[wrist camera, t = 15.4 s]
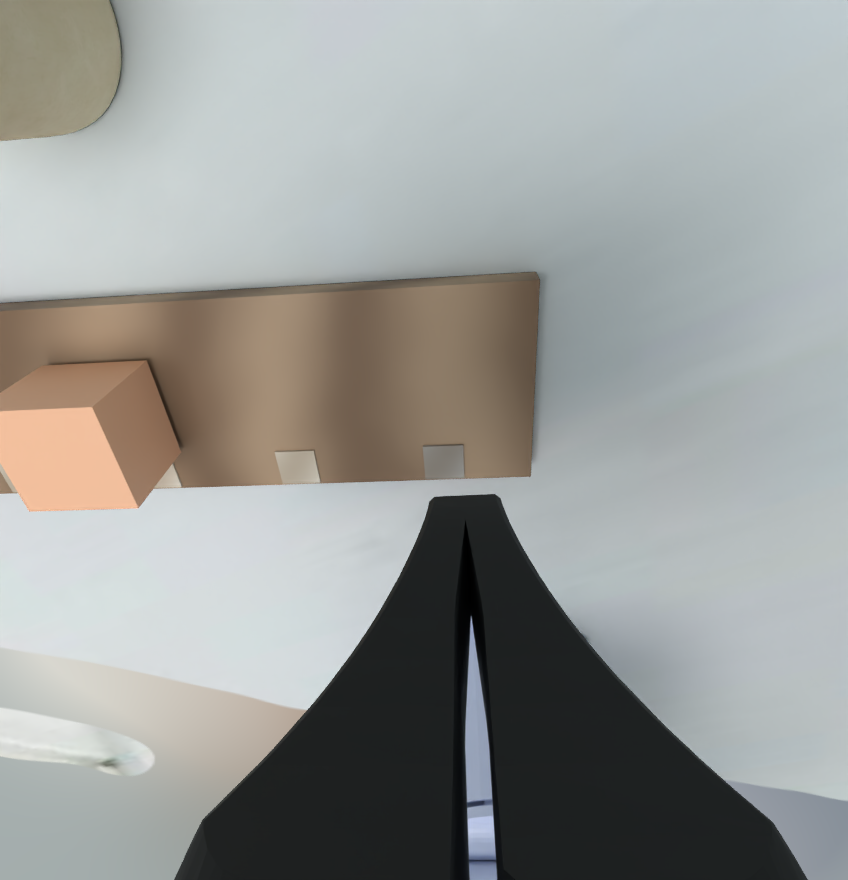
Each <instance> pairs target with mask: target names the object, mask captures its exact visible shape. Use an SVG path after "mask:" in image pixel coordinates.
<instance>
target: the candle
mask: <svg viewBox="0 0 848 880" xmlns="http://www.w3.org/2000/svg"><path fill="white" fill-rule="evenodd" d="M120 71H121V48H120V39H119V33H118V27H117V23H116V20H115V16H114V13H113V9H112V7H111V4H110V2H109V0H0V141H6V140H18V139H29V138H41V137H51V136H58V135H65V134H69V133H73V132H76V131H78V130H81V129H83V128H85V127H87V126H89V125H90V124H92V123H93V122H95V121H96V120H97V119H98V118H99V117H100V116H102V115H103V114H104V112H105V111H106V109H107V108H108V107H109V105H110V103H111V101H112V99H113V97H114V95H115V92H116V89H117V86H118V82H119V77H120Z"/></svg>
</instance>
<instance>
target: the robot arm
mask: <svg viewBox="0 0 848 880" xmlns="http://www.w3.org/2000/svg"><path fill="white" fill-rule="evenodd" d="M174 880H808V879H807V878H806V876H805V874H804V873H803V871H802V869H801V867H800V866H799V864H798V862H797V860H796V859H795V857H794V855H793V854H792V852H791V850H790V849H789V847H788V846H787V844H786V842H785V841H784V839H783V838H782V836H781V834H780V833H779V831H778V830H777V828H776V827H775V825H774V823H773V822H772V821H771V820H769V819H768V818H767V817H766V816H765V815H764V814H762V813H761V812H760V811H759V810H758V809H757V808H755V807H754V806H753V805H752V804H751V803H749V802H748V801H747V800H746V799H745V798H744V797H742V796H741V795H740V794H739V793H738V792H737V791H735V790H734V789H733V788H732V787H731V786H730V785H728V784H727V783H726V782H725V781H724V780H723V779H722V778H721V777H720V776H718V775H717V774H716V773H715V772H714V771H713V770H712V769H711V768H709V767H708V766H707V765H706V764H705V763H704V762H703V761H702V760H701V759H699V758H698V757H697V756H696V755H695V754H694V753H693V752H692V751H691V750H690V749H689V748H688V747H687V746H686V745H685V744H684V743H683V742H681V741H680V740H679V739H678V738H677V737H676V736H675V735H674V734H673V733H672V732H671V731H670V730H669V729H668V728H667V727H666V726H665V725H664V724H663V723H662V722H661V721H660V720H659V719H658V718H657V717H656V716H655V715H654V714H653V713H652V712H651V711H650V710H649V709H648V708H647V707H646V706H645V705H644V704H643V703H642V702H641V701H640V700H639V699H638V698H637V697H636V695H635V694H634V693H633V692H632V691H631V690H630V689H629V688H628V687H627V686H626V685H625V684H624V683H623V682H622V681H621V680H620V679H619V678H618V677H617V676H616V675H615V673H614V672H613V671H612V670H611V669H610V668H609V666H608V665H607V664H606V663H605V662H604V661H603V660H602V658H601V657H600V656H599V655H598V654H597V653H596V652H595V650H594V649H593V648H592V647H591V645H590V644H589V643H588V641H587V640H586V639H585V638H584V637H583V636H582V634H581V633H580V632H579V631H578V629H577V628H576V627H575V625H574V624H573V623H572V622H571V620H570V619H569V618H568V616H567V615H566V614H565V612H564V611H563V609H562V608H561V607H560V605H559V604H558V602H557V601H556V600H555V598H554V597H553V595H552V594H551V592H550V591H549V590H548V588H547V587H546V585H545V583H544V582H543V580H542V579H541V577H540V576H539V574H538V573H537V571H536V569H535V568H534V566H533V564H532V563H531V561H530V559H529V558H528V556H527V554H526V553H525V551H524V549H523V547H522V546H521V544H520V542H519V540H518V538H517V536H516V534H515V532H514V530H513V528H512V526H511V524H510V522H509V520H508V518H507V515H506V513H505V510H504V508H503V505H502V502H501V499H500V498H499V497H498V496H497V495H495V494H488V495H465V496H443V497H434V498H433V499H432V500H431V501H430V502H429V506H428V510H427V513H426V517H425V520H424V522H423V525H422V528H421V530H420V533H419V535H418V538H417V540H416V542H415V545H414V547H413V549H412V551H411V553H410V555H409V557H408V560H407V562H406V564H405V566H404V568H403V570H402V572H401V574H400V576H399V578H398V580H397V582H396V583H395V585H394V587H393V589H392V590H391V592H390V594H389V596H388V598H387V599H386V601H385V603H384V605H383V606H382V608H381V610H380V611H379V613H378V615H377V616H376V618H375V620H374V621H373V623H372V624H371V626H370V627H369V629H368V631H367V632H366V634H365V635H364V637H363V638H362V639H361V641H360V642H359V644H358V645H357V647H356V648H355V650H354V651H353V653H352V654H351V655H350V657H349V658H348V659H347V661H346V662H345V663H344V665H343V666H342V667H341V669H340V670H339V671H338V673H337V674H336V675H335V677H334V678H333V679H332V681H331V682H330V683H329V685H328V686H327V687H326V688H325V690H324V691H323V692H322V693H321V695H320V696H319V697H318V698H317V699H316V701H315V702H314V703H313V704H312V705H311V707H310V708H309V709H308V710H307V711H306V712H305V713H304V715H303V716H302V717H301V718H300V719H299V720H298V721H297V722H296V724H295V725H294V726H293V727H292V728H291V729H290V730H289V732H288V733H287V734H286V735H285V736H284V737H283V738H282V740H281V741H280V742H279V743H278V744H277V745H276V746H275V747H274V749H273V750H272V751H271V752H270V753H269V754H268V755H267V756H266V757H265V758H264V759H263V760H262V761H261V762H260V763H259V764H258V766H256V767H255V768H254V769H253V770H252V771H251V772H250V773H249V774H248V775H247V776H246V777H245V778H244V779H243V780H242V781H241V782H240V783H239V784H238V785H237V786H236V787H235V788H234V789H233V790H232V791H231V792H230V793H229V794H228V795H227V796H226V797H225V798H224V799H223V800H222V801H221V802H220V803H219V804H218V805H217V806H216V807H215V808H214V809H213V810H212V811H211V812H210V813H209V814H208V815H207V816H206V817H205V818H204V819H203V820H202V822H201V824H200V826H199V828H198V830H197V832H196V834H195V836H194V838H193V840H192V842H191V844H190V847H189V849H188V851H187V853H186V855H185V858H184V860H183V862H182V864H181V866H180V869H179V871H178V873H177V875H176V877H175V879H174Z"/></svg>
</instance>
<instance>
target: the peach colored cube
mask: <svg viewBox="0 0 848 880" xmlns="http://www.w3.org/2000/svg"><path fill="white" fill-rule="evenodd" d="M180 453H181V450H180V448H179V445H178V442H177V440H176V437H175V434H174V432H173V429H172V426H171V424H170V421H169V418H168V416H167V413H166V410H165V408H164V405H163V402H162V400H161V397H160V394H159V392H158V389H157V387H156V384H155V381H154V379H153V376H152V373H151V371H150V368H149V365H148V363H147V360H144V361H124V362H104V363H84V364H64V365H44V366H41V367H39V368H38V369H36V370H35V371H33V372H31V373H30V374H28V375H27V376H25V377H24V378H22V379H21V380H19V381H18V382H16V383H14V384H13V385H11V386H10V387H8V388H7V389H5V390H4V391H2V392H1V393H0V464H1V465H2V467H3V469H4V470H5V472H6V474H7V475H8V477H9V479H10V480H11V482H12V484H13V485H14V487H15V489H16V490H17V492H18V493H19V495H20V497H21V498H22V500H23V502H24V503H25V505H26V507H27V508H28V510H29V511H62V510H96V509H130V508H139V507H140V505H141V504H142V503H143V502H144V500H145V499H146V498H147V496H148V495H149V494H150V492H151V491H152V490H153V488H154V487H155V486H156V485H157V483H158V482H159V481H160V479H161V478H162V477H163V475H164V474H165V473H166V471H167V470H168V469H169V467H170V466H171V465H172V464H173V462H174V461H175V460H176V458H177V457H178V456H179V454H180Z"/></svg>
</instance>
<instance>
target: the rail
mask: <svg viewBox="0 0 848 880" xmlns="http://www.w3.org/2000/svg"><path fill="white" fill-rule="evenodd" d="M539 288H540V279H539V277H538V275H537V273H536V272H524V273H507V274H490V275H473V276H456V277H439V278H422V279H405V280H388V281H371V282H354V283H337V284H320V285H303V286H286V287H269V288H252V289H235V290H218V291H201V292H184V293H167V294H150V295H133V296H116V297H99V298H82V299H65V300H48V301H31V302H14V303H0V393H1V392H2V391H4V390H5V389H7V388H8V387H10V386H11V385H13V384H14V383H16V382H18V381H19V380H21V379H22V378H24V377H25V376H27V375H28V374H30V373H31V372H33V371H35V370H36V369H38V368H39V367H41V366H44V365H64V364H84V363H104V362H124V361H144V360H147V363H148V365H149V368H150V371H151V373H152V376H153V379H154V381H155V384H156V387H157V389H158V392H159V394H160V397H161V400H162V402H163V405H164V408H165V410H166V413H167V416H168V418H169V421H170V424H171V426H172V429H173V432H174V434H175V437H176V440H177V442H178V445H179V448H180V450H181V453H180V454H179V456H178V457H177V458H176V460H175V461H174V462H173V464H172V465H171V466H170V467H169V469H168V470H167V471H166V473H165V474H164V475H163V477H162V478H161V479H160V481H159V482H158V483H157V485H156V486H155V487H154V488H153V489H159V488H189V487H220V486H251V485H282V484H313V483H344V482H375V481H406V480H437V479H468V478H499V477H530V476H531V458H532V436H533V415H534V394H535V373H536V352H537V330H538V309H539ZM4 493H18V492H17V490H16V489H15V487H14V485H13V484H12V482H11V480H10V479H9V477H8V475H7V474H6V472H5V470H4V469H3V467H2V465H1V464H0V494H4Z"/></svg>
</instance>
